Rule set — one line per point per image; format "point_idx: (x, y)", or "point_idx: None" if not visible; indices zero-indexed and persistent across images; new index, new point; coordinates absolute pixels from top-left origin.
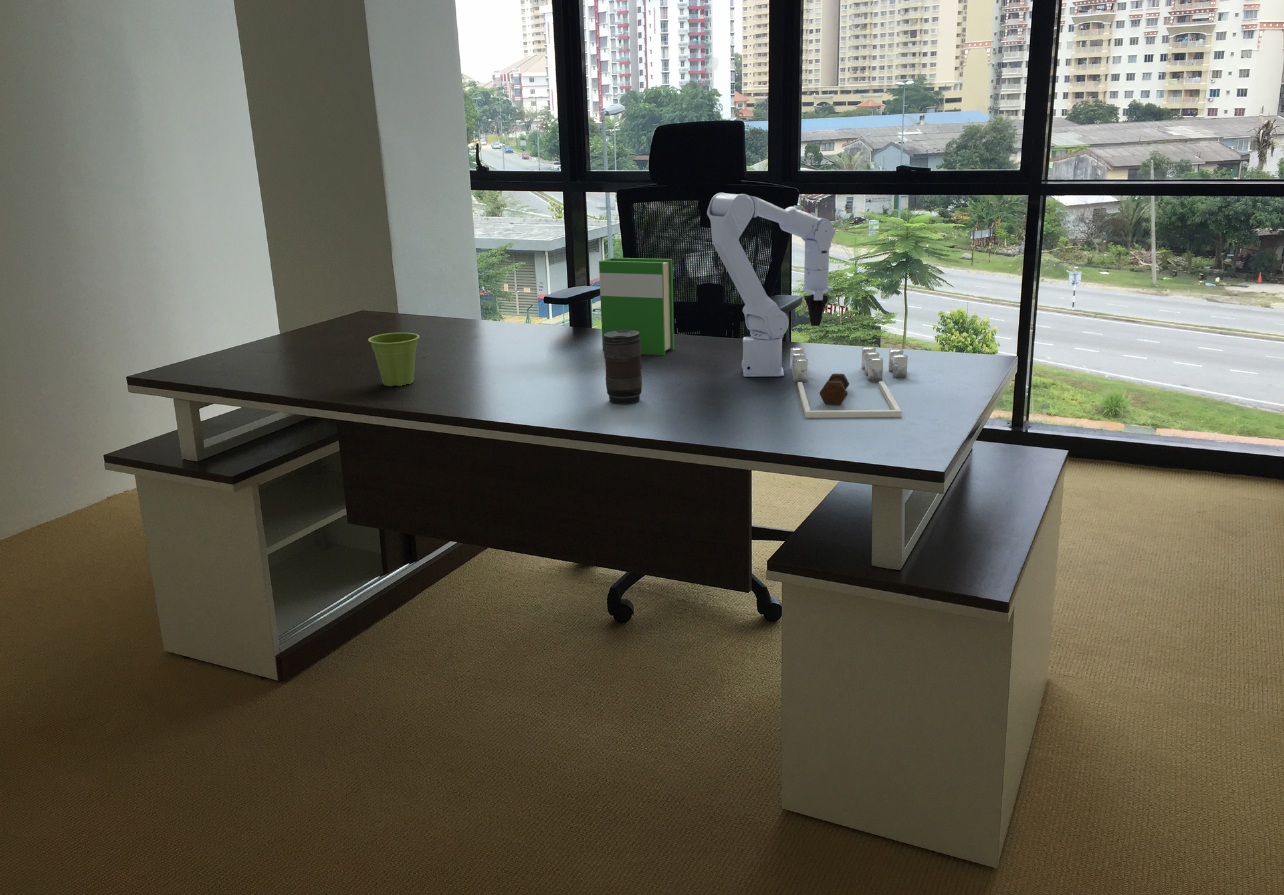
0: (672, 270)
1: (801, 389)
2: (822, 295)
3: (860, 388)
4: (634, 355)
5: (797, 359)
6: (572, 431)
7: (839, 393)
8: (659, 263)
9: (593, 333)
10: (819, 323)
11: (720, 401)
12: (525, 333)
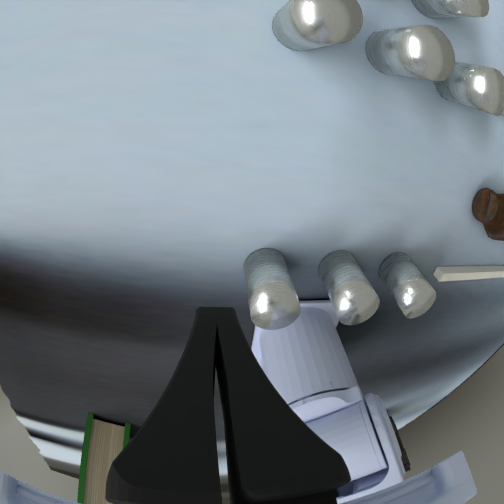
0: None
1: (475, 276)
2: (470, 475)
3: (488, 151)
4: (405, 452)
5: (413, 310)
6: (430, 408)
7: None
8: None
9: (43, 434)
10: (237, 319)
11: (430, 358)
12: (69, 455)
